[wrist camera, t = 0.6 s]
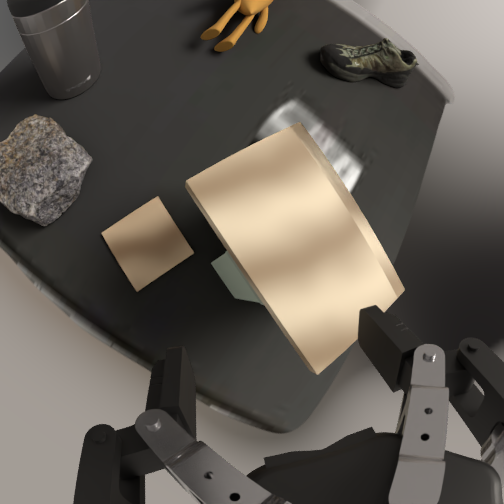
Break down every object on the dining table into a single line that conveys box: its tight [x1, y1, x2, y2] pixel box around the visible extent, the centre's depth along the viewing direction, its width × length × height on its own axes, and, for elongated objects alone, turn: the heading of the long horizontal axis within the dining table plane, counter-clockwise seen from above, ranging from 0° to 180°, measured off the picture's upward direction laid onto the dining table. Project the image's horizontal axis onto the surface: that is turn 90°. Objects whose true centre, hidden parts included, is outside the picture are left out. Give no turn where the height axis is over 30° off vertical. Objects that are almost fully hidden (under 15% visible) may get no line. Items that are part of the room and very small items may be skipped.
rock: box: [0, 114, 92, 226], centre depth 27 cm, size 13×6×15 cm
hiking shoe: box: [320, 38, 419, 88], centre depth 41 cm, size 8×21×9 cm, turn 103°
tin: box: [211, 251, 264, 305], centre depth 30 cm, size 5×5×12 cm
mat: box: [102, 196, 194, 292], centre depth 33 cm, size 8×8×1 cm
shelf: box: [185, 122, 405, 375], centre depth 27 cm, size 15×10×17 cm, turn 34°
